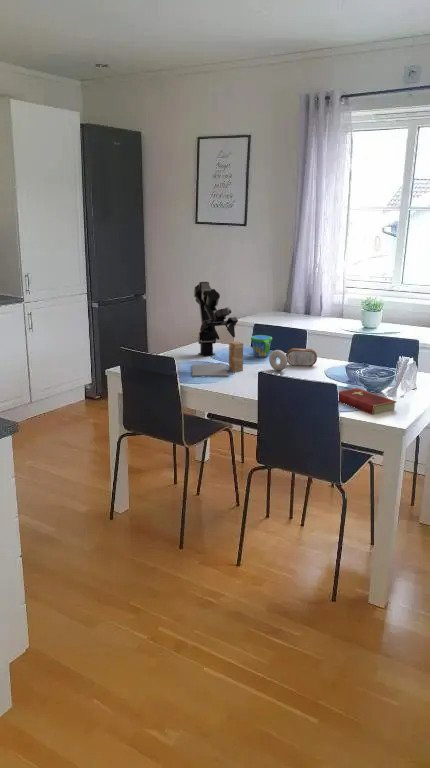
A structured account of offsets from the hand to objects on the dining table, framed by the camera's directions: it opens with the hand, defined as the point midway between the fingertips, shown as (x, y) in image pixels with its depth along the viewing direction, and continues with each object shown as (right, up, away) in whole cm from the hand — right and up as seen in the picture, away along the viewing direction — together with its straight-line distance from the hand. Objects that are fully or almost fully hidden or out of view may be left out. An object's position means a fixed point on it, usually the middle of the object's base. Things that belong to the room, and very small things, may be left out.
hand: (226, 338), depth 292 cm
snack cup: (+18, -8, +25) cm, 32 cm away
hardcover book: (+53, -31, -52) cm, 80 cm away
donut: (+24, -16, -3) cm, 29 cm away
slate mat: (-8, -16, -5) cm, 19 cm away
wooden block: (+4, -15, -3) cm, 16 cm away
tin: (+36, -13, +7) cm, 39 cm away
